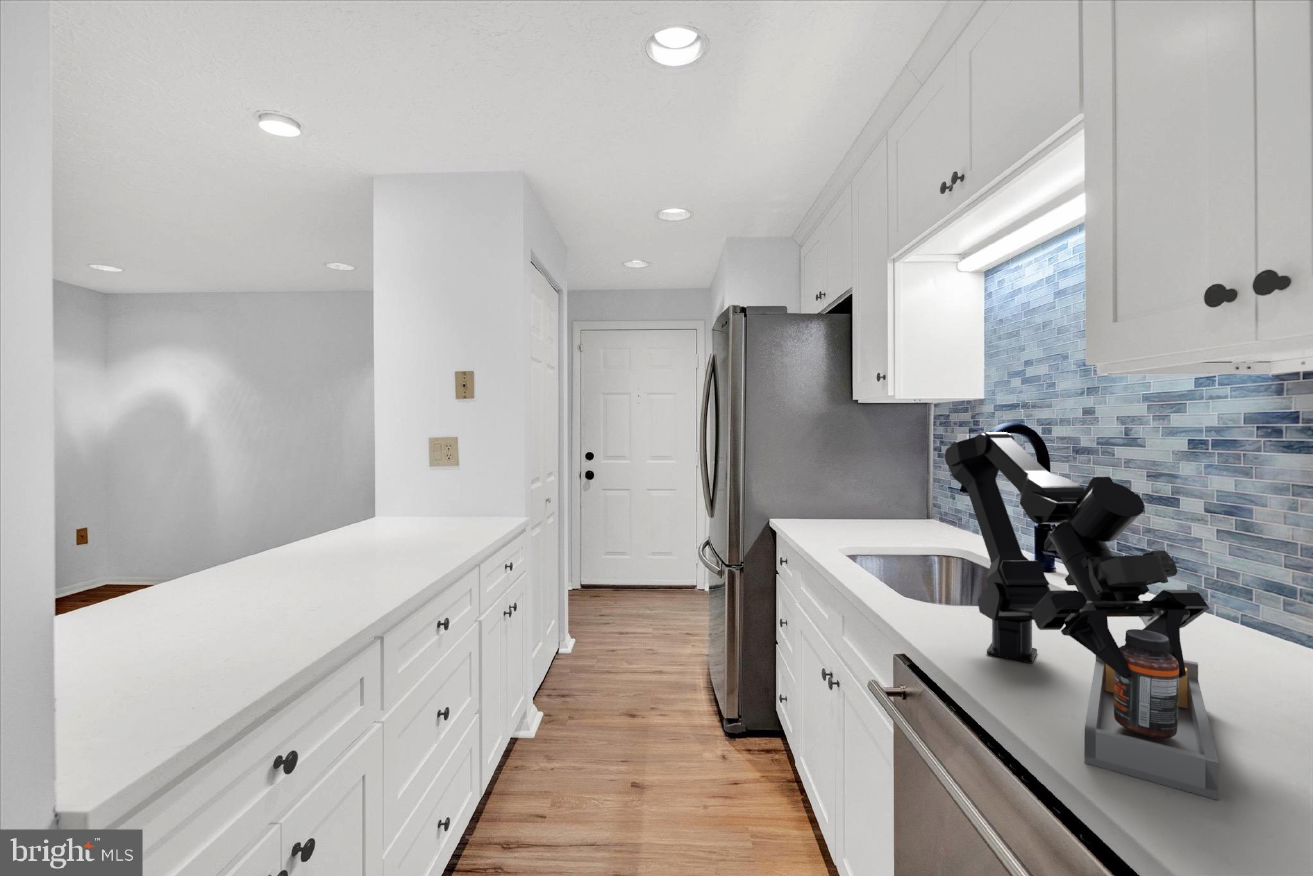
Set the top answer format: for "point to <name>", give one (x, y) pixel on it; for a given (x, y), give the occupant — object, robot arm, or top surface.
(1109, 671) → the pusher
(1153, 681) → the supplement bottle
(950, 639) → the top surface
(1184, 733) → the tray
